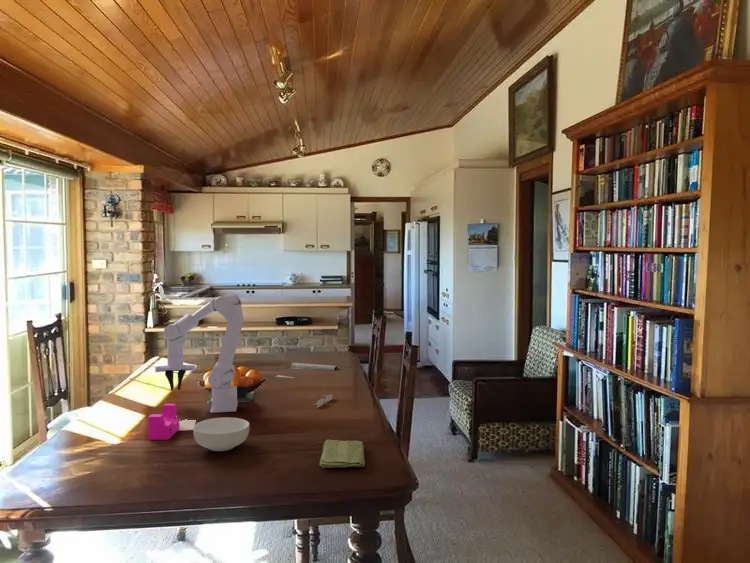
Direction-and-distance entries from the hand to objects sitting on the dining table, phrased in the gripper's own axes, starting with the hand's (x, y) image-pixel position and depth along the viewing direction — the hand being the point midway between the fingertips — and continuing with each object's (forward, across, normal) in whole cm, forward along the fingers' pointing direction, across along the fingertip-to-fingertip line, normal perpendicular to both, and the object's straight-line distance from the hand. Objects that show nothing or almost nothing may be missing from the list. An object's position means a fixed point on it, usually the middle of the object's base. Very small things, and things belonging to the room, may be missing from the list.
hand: (175, 389), depth 219 cm
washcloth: (+8, -57, +65) cm, 86 cm away
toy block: (+7, -2, +31) cm, 32 cm away
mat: (+8, -54, -42) cm, 69 cm away
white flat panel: (+7, -3, +20) cm, 21 cm away
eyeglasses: (+8, -54, +7) cm, 55 cm away
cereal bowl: (+7, -21, +49) cm, 54 cm away
